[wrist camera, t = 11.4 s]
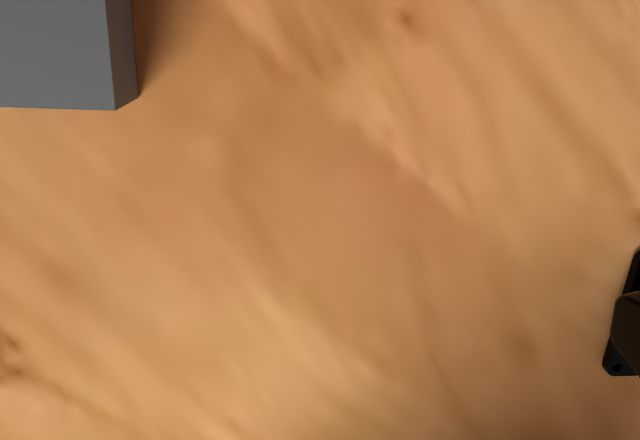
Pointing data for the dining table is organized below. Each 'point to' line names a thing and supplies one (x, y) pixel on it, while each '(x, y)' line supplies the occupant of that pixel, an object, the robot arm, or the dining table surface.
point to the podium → (67, 54)
